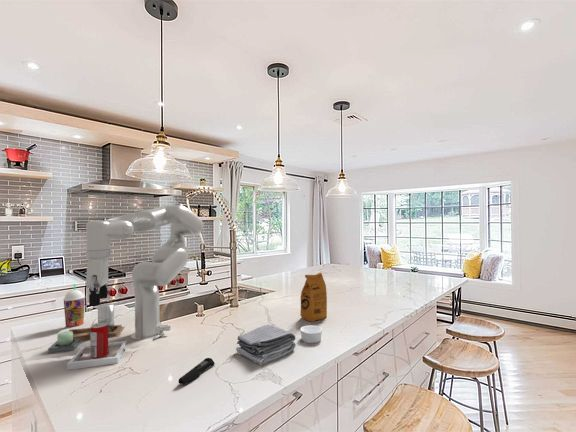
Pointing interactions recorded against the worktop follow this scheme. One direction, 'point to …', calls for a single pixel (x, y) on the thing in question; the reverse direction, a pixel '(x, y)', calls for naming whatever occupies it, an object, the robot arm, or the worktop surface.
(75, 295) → the smoothie
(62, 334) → the button
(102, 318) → the steel billet
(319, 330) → the ramekin
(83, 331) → the wooden compartment tray
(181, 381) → the electric trimmer
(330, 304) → the worktop surface
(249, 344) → the towel
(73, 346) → the button box
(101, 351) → the soda can
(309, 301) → the coffee package
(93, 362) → the white square frame
